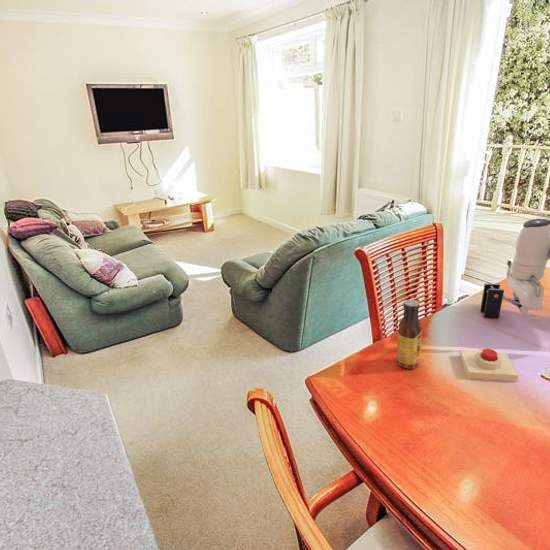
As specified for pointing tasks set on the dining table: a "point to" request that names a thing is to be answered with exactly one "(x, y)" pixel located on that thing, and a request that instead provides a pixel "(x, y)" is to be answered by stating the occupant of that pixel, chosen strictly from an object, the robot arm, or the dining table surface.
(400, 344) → the sauce bottle
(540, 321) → the dining table surface
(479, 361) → the control block
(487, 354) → the button
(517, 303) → the lever
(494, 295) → the bracket
